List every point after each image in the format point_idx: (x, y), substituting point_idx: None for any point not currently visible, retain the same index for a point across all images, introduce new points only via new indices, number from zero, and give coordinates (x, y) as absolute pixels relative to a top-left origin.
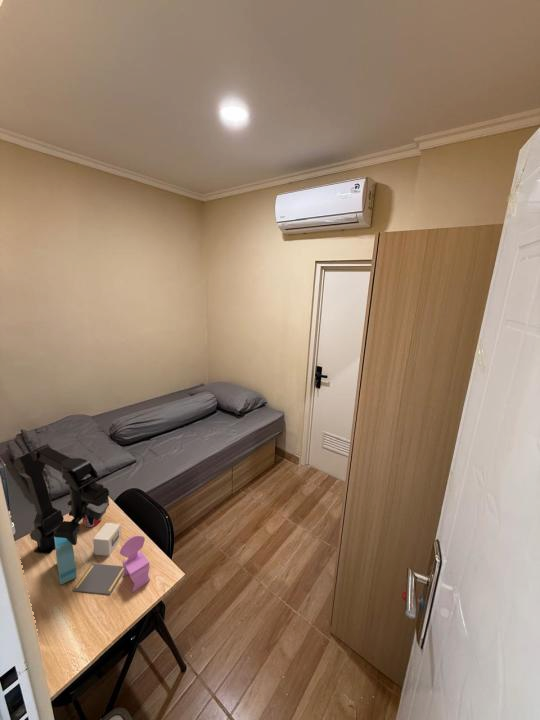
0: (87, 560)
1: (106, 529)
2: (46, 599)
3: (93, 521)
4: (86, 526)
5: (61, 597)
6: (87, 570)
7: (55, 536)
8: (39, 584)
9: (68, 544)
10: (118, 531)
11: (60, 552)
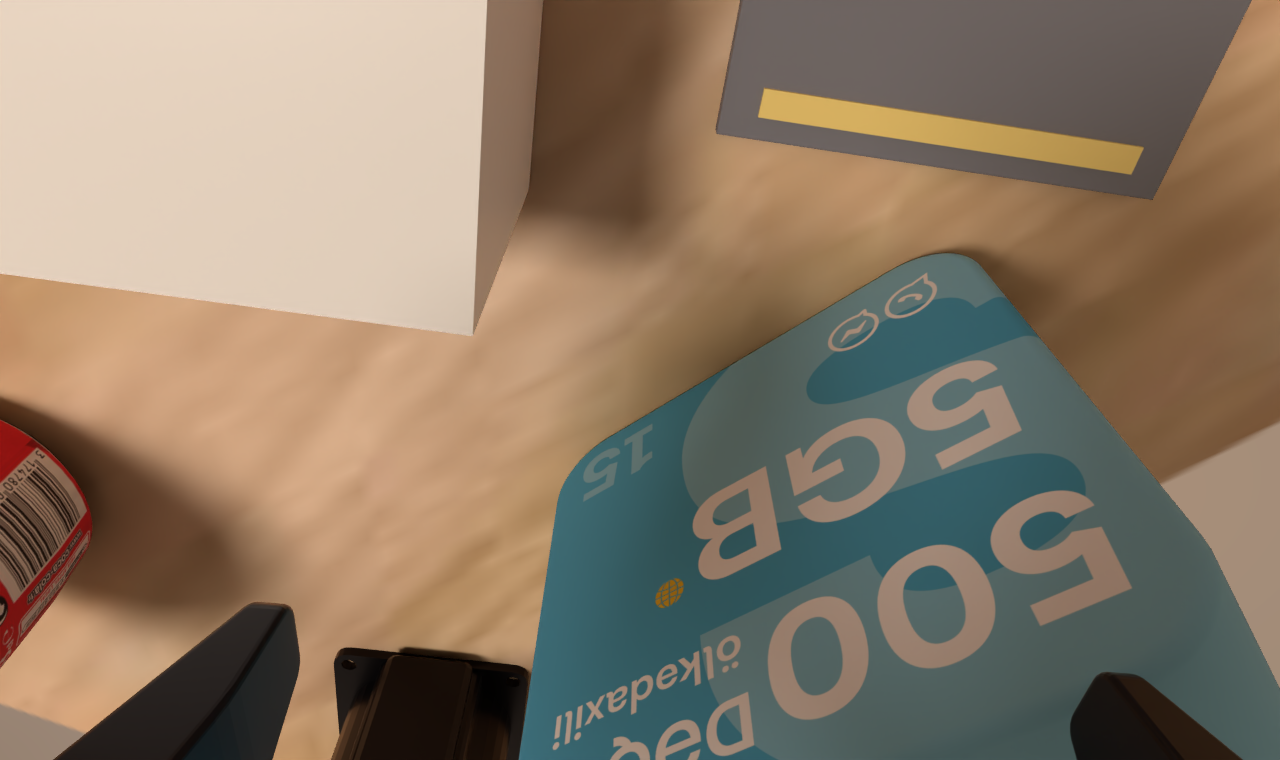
0: (636, 240)
1: (139, 157)
2: (1148, 429)
3: (215, 681)
4: (88, 525)
5: (1189, 285)
6: (842, 147)
7: None
8: None
9: None
10: None
11: None
